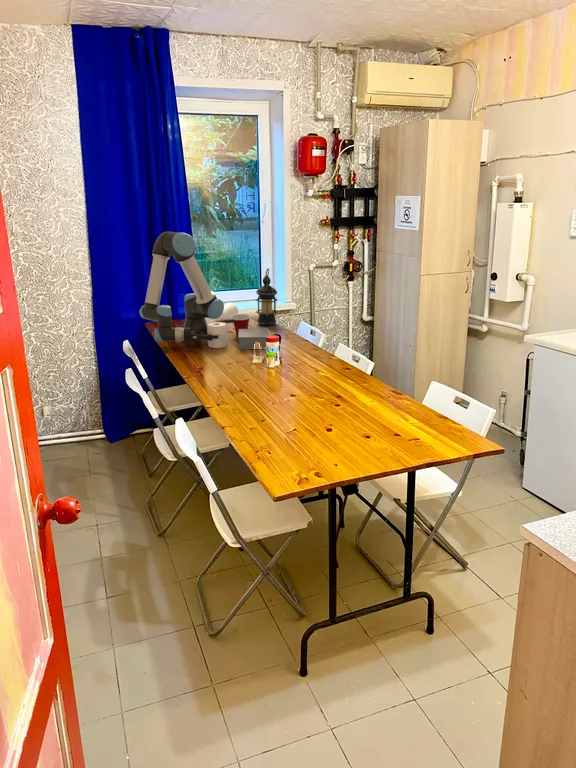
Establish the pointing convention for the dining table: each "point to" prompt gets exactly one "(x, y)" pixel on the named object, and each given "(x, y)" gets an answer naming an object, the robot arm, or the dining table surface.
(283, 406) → the dining table surface
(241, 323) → the plastic cup
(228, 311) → the rocket engine
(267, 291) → the lantern
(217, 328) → the toilet paper
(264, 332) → the grey box
